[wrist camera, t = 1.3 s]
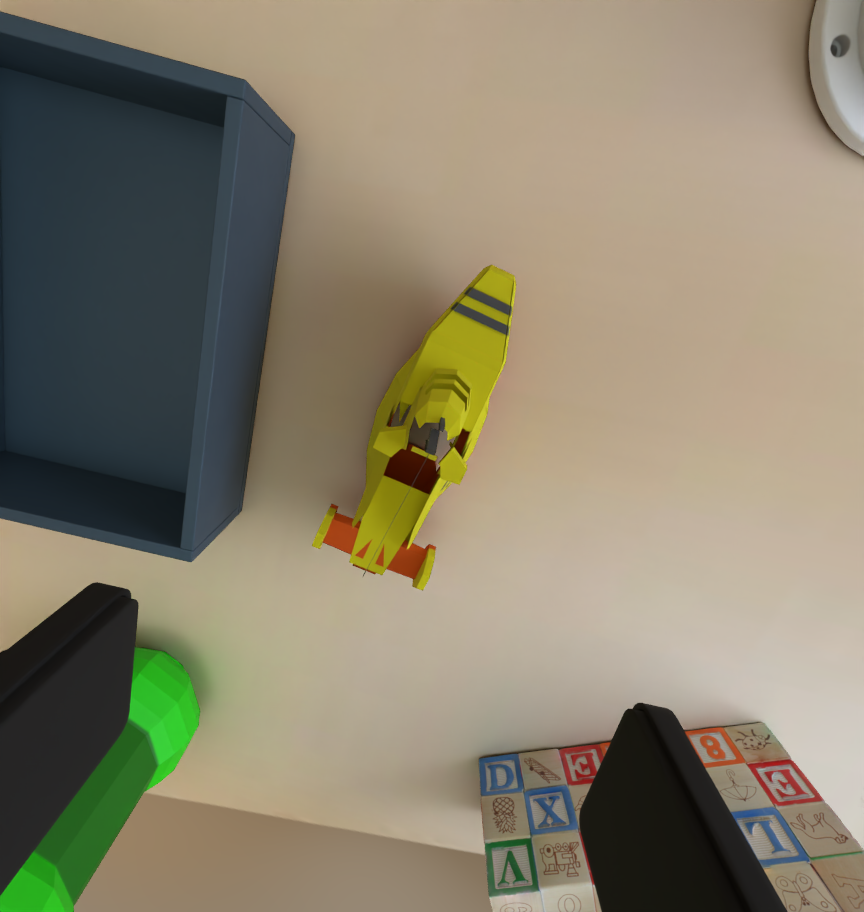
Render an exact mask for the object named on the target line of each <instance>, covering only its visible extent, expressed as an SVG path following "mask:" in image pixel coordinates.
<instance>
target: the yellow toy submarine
mask: <svg viewBox="0 0 864 912" xmlns="http://www.w3.org/2000/svg"><path fill="white" fill-rule="evenodd" d="M515 290H516V281H515V276H514V275H512V274H510V273H508V272H506V271H503V270H501V269H499V268H497V267H495V266H493V265H490V266H488V267H486V268H484V269H483V270H482V271H481V272H480V273H479V274H478V275H477V277H476V278H475V279H474V280H473V281H472V282H471V283H470V284H469V285H468V287H467V288H466V289H465V290H464V291H463V292H462V293H461V294H460V296H459V297H458V298H457V299H456V300H455V301H454V302H453V303H452V304H451V306H450V307H449V308H448V309H447V310H446V311H445V312H444V313H443V315H442V316H441V317H440V318H439V319H438V320H437V321H436V322H435V323H434V325H433V326H432V327H431V328H430V329H429V330H428V332H427V333H426V334H425V336H424V338H423V341H422V343H421V345H420V348H419V349H418V350H417V351H416V352H415V353H414V354H413V356H412V357H411V358H410V359H409V360H408V361H407V362H406V363H405V364H404V366H403V367H402V368H401V369H400V370H399V371H398V372H397V373H396V375H395V377H394V379H393V381H392V383H391V385H390V387H389V389H388V390H387V392H386V394H385V396H384V398H383V400H382V402H381V404H380V406H379V407H378V409H377V412H376V416H375V420H374V424H373V428H372V431H371V435H370V439H369V443H368V447H367V462H366V489H365V491H364V494H363V496H362V499H361V502H360V504H359V507H358V509H357V512H356V514H355V517H354V519H352V518H350V517H347V516H344V515H341V514H338V513H336V512H337V509H338V506H336V505H334V504H331V506H330V508H329V510H328V512H327V514H326V515H325V518H324V520H323V522H322V524H321V526H320V528H319V530H318V532H317V535H316V537H315V539H314V542H313V544H312V546H313V547H316V548H318V549H320V547H321V545H322V543H326V544H328V545H330V546H333V547H335V548H337V549H340V550H342V551H344V552H346V553H349V554H351V558H350V561H349V562H350V563H353V566H356V567H358V568H361V569H363V570H365V572H366V571H368V572H370V573H373V574H376V573H378V574H380V575H383V573H384V572H385V570H386V569H388V570H391V571H394V572H396V573H399V574H402V575H404V576H407V577H410V578H412V579H413V587H415V588H417V589H420V590H422V591H423V589H424V587H425V586H426V584H427V582H428V580H429V578H430V574H431V570H432V567H433V563H434V559H435V549H436V547H435V546H433V545H430V544H429V545H428V546H427V547H426V548H425V549H424V548H421V547H419V546H417V545H415V544H413V543H412V542H413V540H414V538H415V536H416V535H417V533H418V531H419V529H420V527H421V525H422V523H423V522H424V520H425V518H426V516H427V514H428V512H429V510H430V509H431V507H432V505H433V503H434V501H435V500H436V499H437V498H438V497H439V496H440V495H441V494H442V493H443V492H444V491H445V490H446V489H447V488H448V487H449V486H450V484H451V483H456V484H460V482H461V480H462V478H463V476H464V474H465V472H466V470H467V465H466V463H465V462H466V461H467V460H468V458H469V457H470V455H471V454H472V452H473V449H474V447H475V444H476V442H477V439H478V437H479V434H480V432H481V429H482V426H483V424H484V421H485V419H486V416H487V413H488V405H489V398H490V395H491V393H492V391H493V388H494V386H495V384H496V382H497V380H498V378H499V376H500V373H501V371H502V369H503V367H504V365H505V363H506V356H507V349H508V341H509V334H510V327H511V320H512V312H513V305H514V298H515ZM399 403H400V415H399V422H400V420H401V418H402V417H403V415H404V413H405V412H406V410H407V408H408V407H409V405H411V408H410V411H409V413H408V415H407V417H406V420H405V422H404V424H403V426H396V427H390V426H391V423H392V419H393V416H394V413H395V411H396V409H397V407H398V405H399ZM414 416H415V418H416V421H417V424H418V427H419V428H420V427H421V426H422V425H423V424H424V423H425V422H431V423H439V430H440V431H442V432H443V430H444V429H445V430H446V431H447V432H448V435H447V441H448V440H450V439H452V438H454V437H456V438H455V440H454V442H453V444H452V443H451V442H450V444H449V445H450V447H451V448H450V450H449V451H448V452H447V454H446V455H445V456H444V457H443V458H442V459H441V460H440V462H439V463H438V464H439V465H440V467H439V469H438V470H437V472H436V463H435V461H436V459H437V456H435V453H436V447H437V441H438V435H439V431H438V430H436V429H433V428H431V431H430V436H429V441H428V440H426V445H425V450H423V449H421V448H419V447H417V446H414V445H412V444H410V443H408V438H409V431H410V428H411V427H412V425H411V424H412V422H413V420H414ZM362 516H363V518H362V521H360V519H361V517H362ZM364 574H365V573H364ZM363 576H364V575H363ZM362 578H363V577H362Z"/></svg>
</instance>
